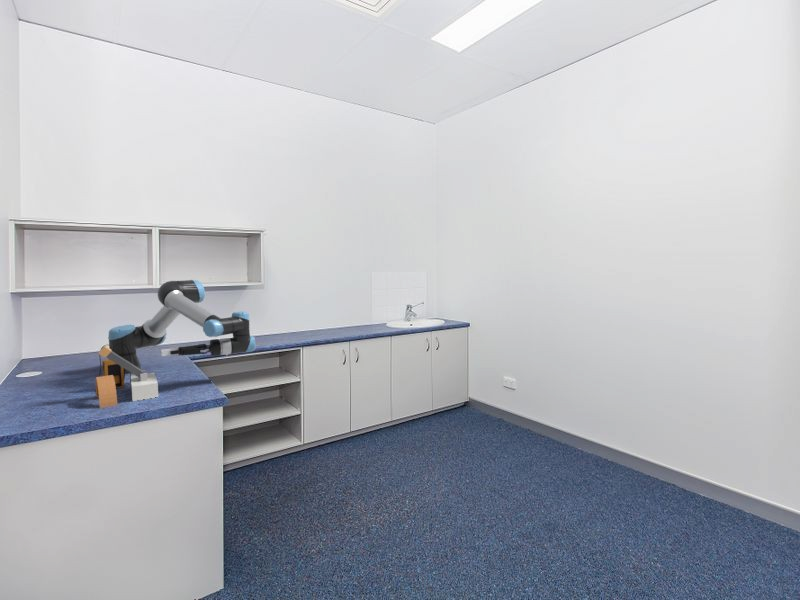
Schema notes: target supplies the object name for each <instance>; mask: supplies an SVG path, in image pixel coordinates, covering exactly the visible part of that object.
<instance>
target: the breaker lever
mask: <svg viewBox="0 0 800 600" xmlns="http://www.w3.org/2000/svg"><path fill="white" fill-rule="evenodd" d="M103 346H104V345H103ZM103 346H102V347H103ZM102 347H101V348H102ZM101 348H100V349H99V351H98V352H97V354H100V356H102V357H103V358H106V359H107V360H109V359H110V360H112V361H113V362H115V363H116V364H118V365H120V366H121V367H123V368H124V369H126V370H128V371H129V372H131V374H132V375H136V376H137V377H139V378H140V374H142V373H145V372H144V371H143V370H142V368H141V369H139V368H138V367H136V366H135V365H133V364H132V363H130V362H128V361H127V360H125V359H124V358H122V357H120V356H119V355H117V354H116V353H114V352H113V351H112V350H111V349H110V348H109V346H108V345H106V346H104V347H103V348H102V349H101Z"/></svg>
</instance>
